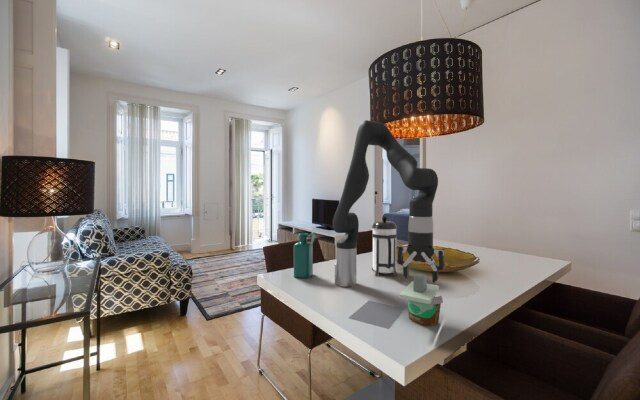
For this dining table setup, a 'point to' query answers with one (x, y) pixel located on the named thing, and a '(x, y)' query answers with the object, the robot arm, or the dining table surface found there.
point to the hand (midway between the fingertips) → (420, 279)
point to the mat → (377, 314)
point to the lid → (419, 290)
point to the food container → (425, 312)
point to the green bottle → (303, 256)
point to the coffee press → (384, 247)
